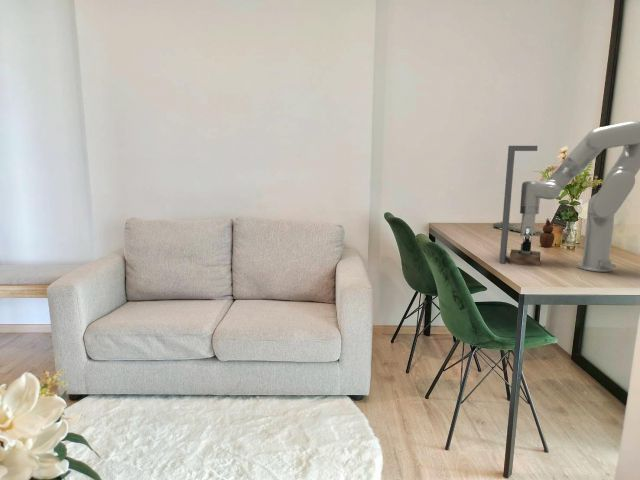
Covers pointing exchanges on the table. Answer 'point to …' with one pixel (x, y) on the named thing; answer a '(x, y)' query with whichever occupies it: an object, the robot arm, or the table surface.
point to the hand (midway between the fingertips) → (526, 249)
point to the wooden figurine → (547, 235)
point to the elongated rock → (515, 228)
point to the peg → (523, 251)
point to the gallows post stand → (509, 196)
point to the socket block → (525, 258)
